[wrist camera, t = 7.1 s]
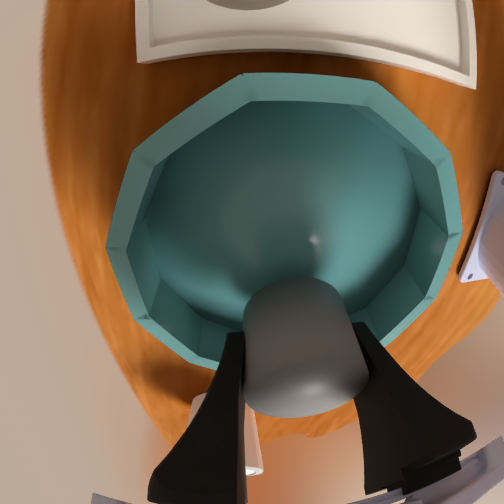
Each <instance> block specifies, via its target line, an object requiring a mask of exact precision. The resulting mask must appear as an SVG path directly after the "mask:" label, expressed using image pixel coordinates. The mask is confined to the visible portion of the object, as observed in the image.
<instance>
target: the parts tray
mask: <svg viewBox="0 0 504 504" xmlns="http://www.w3.org/2000/svg"><path fill="white" fill-rule="evenodd" d="M135 29H136V52H137V63H143V64H150V63H155V62H161V61H166V60H172V59H179V58H186V57H193V56H202V55H212V54H224V53H241V52H291V53H309V54H321V55H331V56H339V57H347V58H353V59H360V60H366V61H371V62H377V63H382V64H386V65H391V66H395V67H399V68H404V69H408V70H411V71H415V72H419V73H422V74H426V75H429V76H432V77H435V78H439V79H442V80H445V81H448V82H450V83H453V84H456V85H459V86H462V87H467V88H471V89H476V80H477V50H476V31H475V20H474V11H473V4H472V0H289V1H287V2H285V3H283V4H280V5H277V6H275V7H271V8H267V9H260V10H235V9H229V8H224V7H221V6H218V5H215V4H213V3H210V2H209V1H207V0H135Z"/></svg>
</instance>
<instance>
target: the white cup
mask: <svg viewBox="0 0 504 504" xmlns="http://www.w3.org/2000/svg"><path fill="white" fill-rule="evenodd" d="M206 394H207V393H203V394H200V395H198V396H196V397H195V398H194V399H193V400H192V405H191V411H190V416H189V421H188V426H189V424H190V423H191V421H192V420H193V418H194V416H195V415H196V413H197V411H198V409H199V408H200V406H201V404H202V402H203V400H204V398H205V396H206ZM188 426H187V428H188ZM244 444H245V466H246V476H252V475H257V474H260V473H262V472H263V470H264V469H263V463H262V457H261V451H260V445H259V439H258V432H257V426H256V420H255V413H254V410H253V409H251V408H250V407H249V406H248V405H247V403H245V419H244Z"/></svg>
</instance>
